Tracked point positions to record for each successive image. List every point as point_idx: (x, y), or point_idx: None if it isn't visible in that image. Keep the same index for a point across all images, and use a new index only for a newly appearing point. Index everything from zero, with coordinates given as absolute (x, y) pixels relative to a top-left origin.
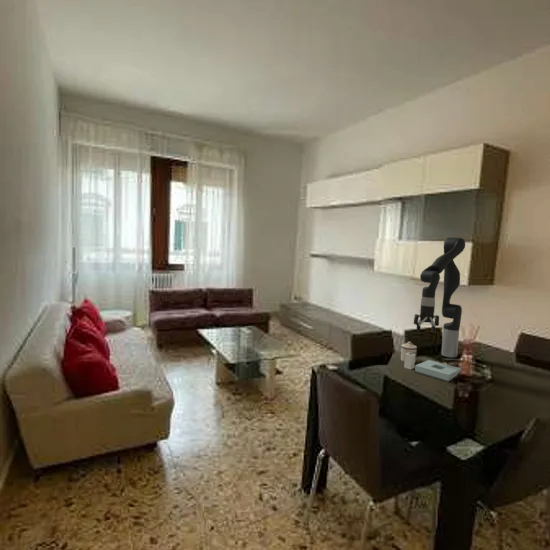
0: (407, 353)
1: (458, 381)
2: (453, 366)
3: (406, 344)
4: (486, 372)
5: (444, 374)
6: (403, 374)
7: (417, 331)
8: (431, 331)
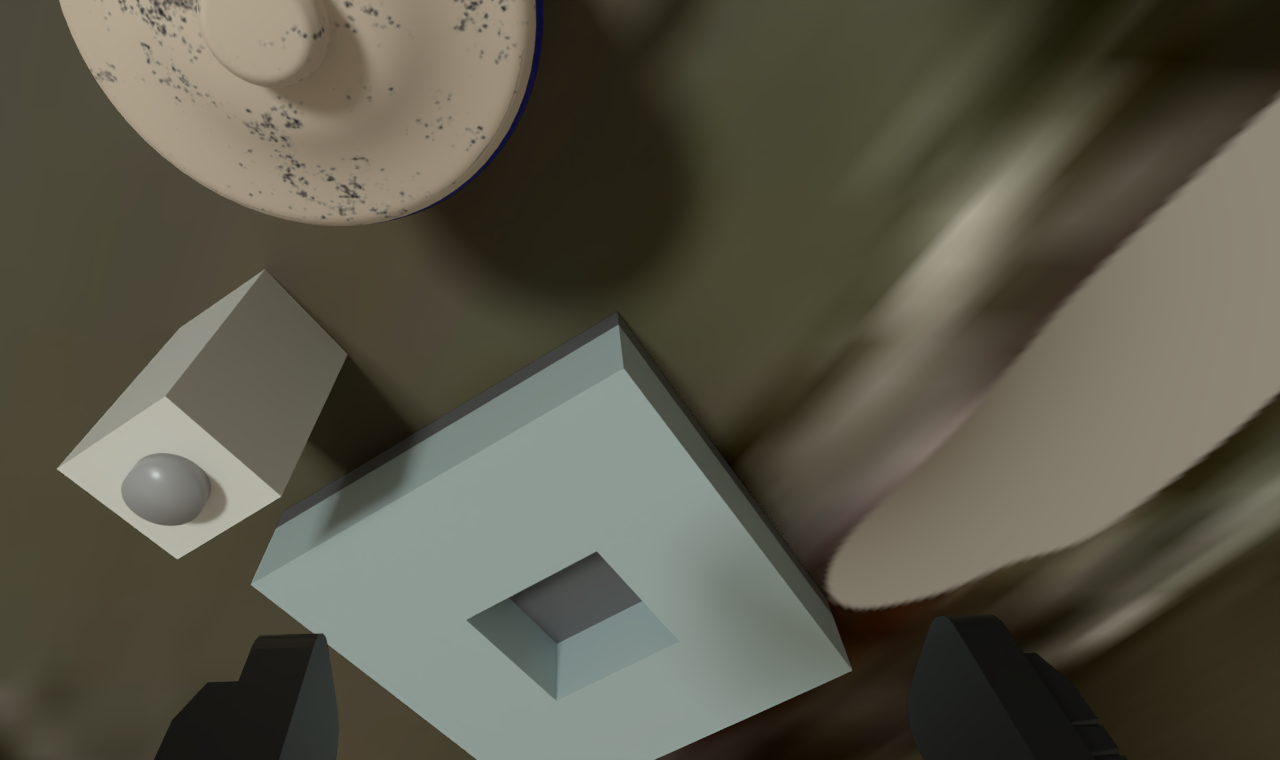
0: (120, 450)
1: None
2: (808, 616)
3: (166, 44)
4: (1237, 522)
5: None
6: (96, 561)
7: (262, 657)
8: (950, 668)
